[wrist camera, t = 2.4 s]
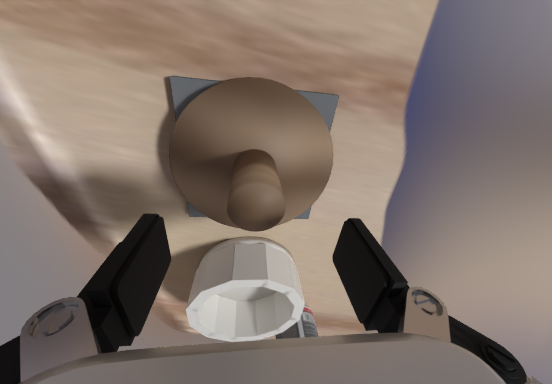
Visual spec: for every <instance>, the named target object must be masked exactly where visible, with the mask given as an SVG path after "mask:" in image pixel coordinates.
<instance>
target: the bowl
mask: <svg viewBox="0 0 552 384" xmlns="http://www.w3.org/2000/svg"><path fill="white" fill-rule="evenodd" d="M304 305H305V302H304V298H303V293H302V289H301V284H300V280H299V276H298V271H297V268H296V267H295V265H294V261H293V258H292V256H291V254H290V253H289V251H288V250H287V249H286V248H285V247H283V246H282V245H281V244H279V243H277V242H275V241H272V240H269V239H265V238H260V237H239V238H234V239H230V240H227V241H224V242H221V243H219V244H217V245H216V246H214V247H212V248H211V249H210V250H209V251H207V253H206V254H205V255H204V256H203V258H202V259H201V262H200V265H199V268H198V269H197V270H196V273H195V277H194V281H193V285H192V288H191V292H190V296H189V300H188V304H187V308H186V312H187V316H188V321H189V325H190V326H191V327H192V328H194V329H195V330H197V331H198V332H200V333H201V334H203V335H205V336H206V337H209V338H214V339H219V340H224V341H230V342H239V341H253V340H261V339H264V338H267V337H270V336H273V335H276V334H279V333H282V332H284V331H285V330H287V329H288V328H289V327H291V326H292V325H293V324H295V323H296V322H297V321H299V320H300V317H301V314H302V311H303V308H304Z"/></svg>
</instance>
